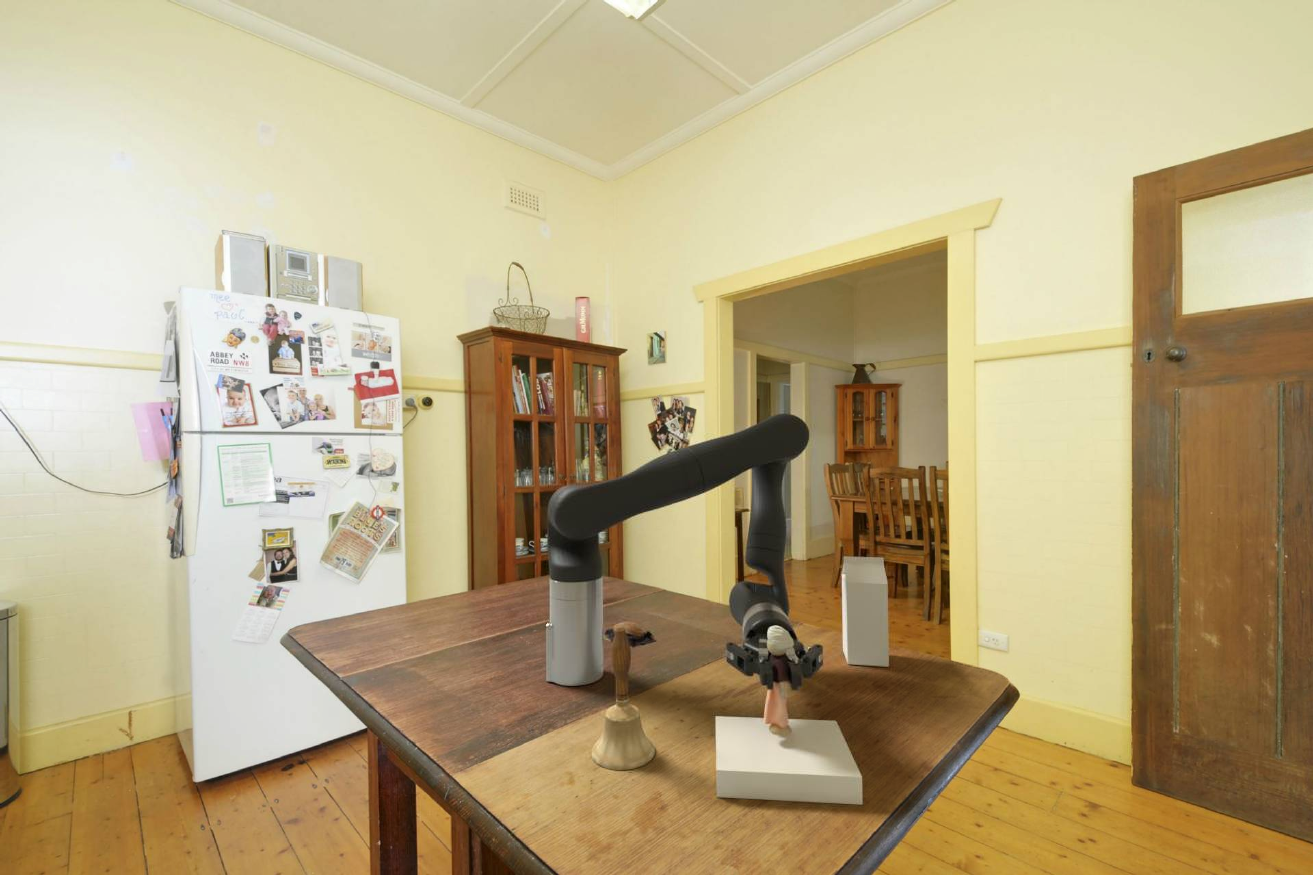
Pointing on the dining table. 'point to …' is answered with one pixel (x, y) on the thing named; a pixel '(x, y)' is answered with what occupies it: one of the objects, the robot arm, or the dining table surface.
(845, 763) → the stone slab
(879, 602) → the milk carton
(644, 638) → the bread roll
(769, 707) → the grandmother figurine
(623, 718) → the hand bell
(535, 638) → the dining table surface
